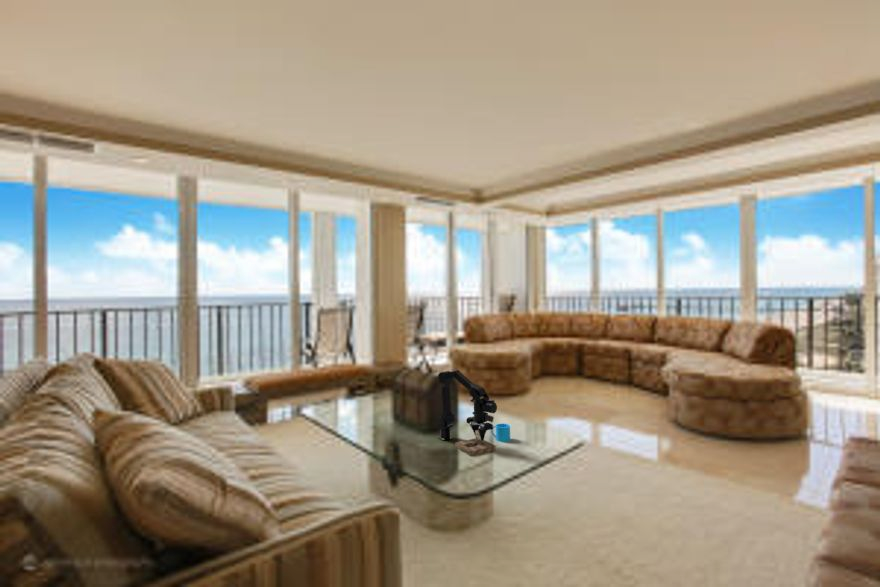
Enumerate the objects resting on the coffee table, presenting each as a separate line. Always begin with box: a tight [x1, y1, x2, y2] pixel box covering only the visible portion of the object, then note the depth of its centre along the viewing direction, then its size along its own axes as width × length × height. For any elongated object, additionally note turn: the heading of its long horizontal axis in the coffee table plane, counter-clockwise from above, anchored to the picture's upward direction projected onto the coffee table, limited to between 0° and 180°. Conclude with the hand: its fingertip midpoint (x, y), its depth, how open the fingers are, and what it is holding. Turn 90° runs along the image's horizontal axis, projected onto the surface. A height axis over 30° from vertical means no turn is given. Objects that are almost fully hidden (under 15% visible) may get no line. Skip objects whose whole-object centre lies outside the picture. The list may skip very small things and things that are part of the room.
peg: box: [475, 430, 483, 445], centre depth 230 cm, size 5×5×9 cm
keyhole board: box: [454, 437, 497, 457], centre depth 228 cm, size 16×16×2 cm
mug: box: [490, 423, 511, 443], centre depth 243 cm, size 12×8×8 cm
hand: (479, 438), depth 230 cm, fingers closed on peg, 5 cm apart
